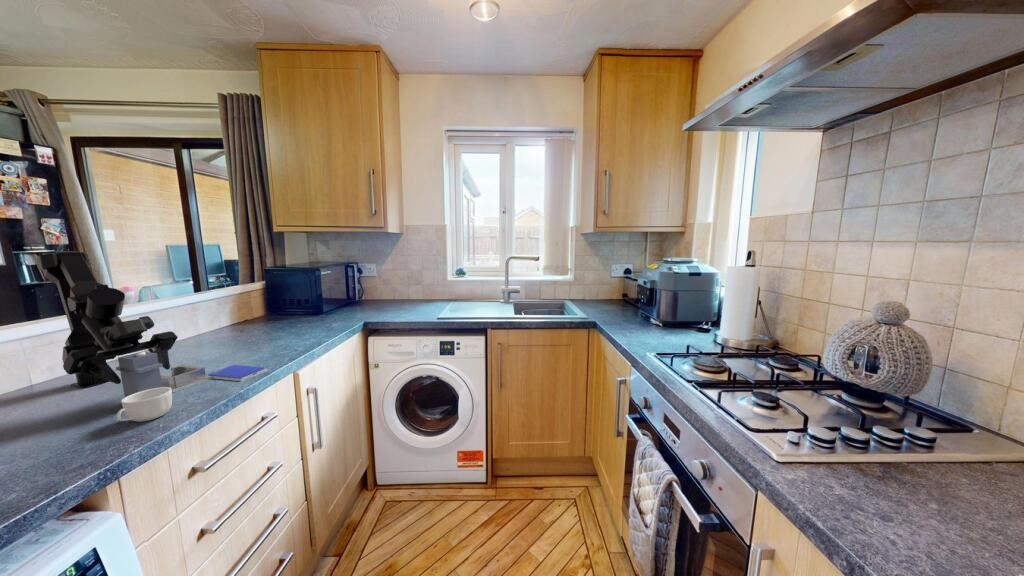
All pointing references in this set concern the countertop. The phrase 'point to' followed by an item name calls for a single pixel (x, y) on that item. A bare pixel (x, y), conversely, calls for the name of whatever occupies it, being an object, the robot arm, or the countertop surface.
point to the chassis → (184, 377)
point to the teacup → (146, 404)
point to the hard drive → (238, 372)
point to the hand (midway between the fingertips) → (145, 375)
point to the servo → (139, 372)
